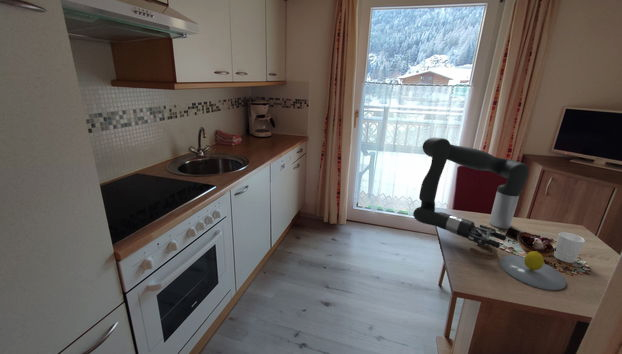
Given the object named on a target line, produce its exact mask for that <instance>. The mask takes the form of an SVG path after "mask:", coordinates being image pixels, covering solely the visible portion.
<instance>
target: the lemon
mask: <svg viewBox="0 0 622 354" xmlns="http://www.w3.org/2000/svg"><path fill="white" fill-rule="evenodd" d="M524 257H525V260H524V262H525V265H526V266H527V267H528V268H529V269H530V270H539V269H541V268H542V266H543V264H545V260H544V259H545V258H544V256H543V255H542V254H541V253H540V252H538V250H535V251H534V250H533V251H532V250H531V251H529V252H527V254H526V255H525V256H524Z"/></svg>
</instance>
